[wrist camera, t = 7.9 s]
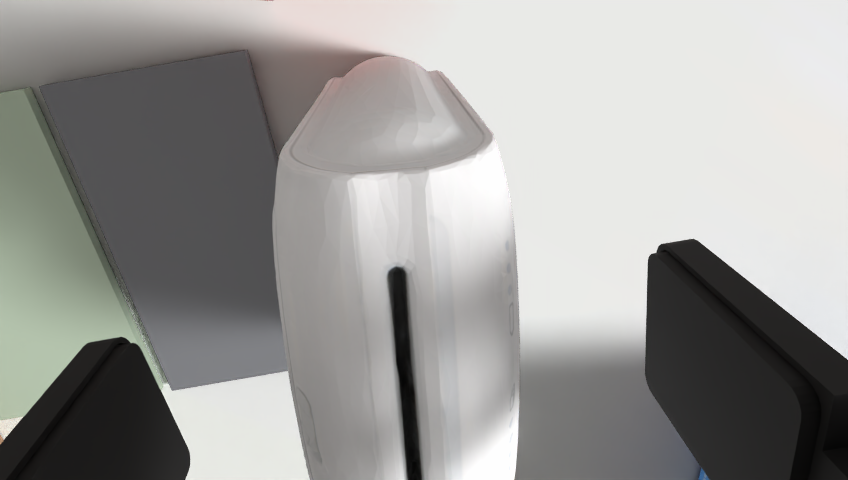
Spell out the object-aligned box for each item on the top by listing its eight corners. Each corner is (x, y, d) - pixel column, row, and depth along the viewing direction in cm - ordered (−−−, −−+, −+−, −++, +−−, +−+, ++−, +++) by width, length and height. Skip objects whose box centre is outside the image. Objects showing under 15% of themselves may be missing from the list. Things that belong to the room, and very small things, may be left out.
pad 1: (163, 386, 22) (159, 392, 21) (6, 413, 22) (0, 420, 22) (30, 87, 17) (22, 89, 17) (-170, 122, 17) (-183, 124, 17)
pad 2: (332, 357, 22) (331, 363, 21) (175, 384, 22) (171, 390, 21) (247, 49, 17) (244, 50, 17) (46, 84, 17) (39, 86, 17)
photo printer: (459, 320, 22) (542, 663, 10) (353, 329, 21) (317, 688, 10) (450, 50, 18) (571, 127, 6) (318, 59, 17) (194, 154, 6)
